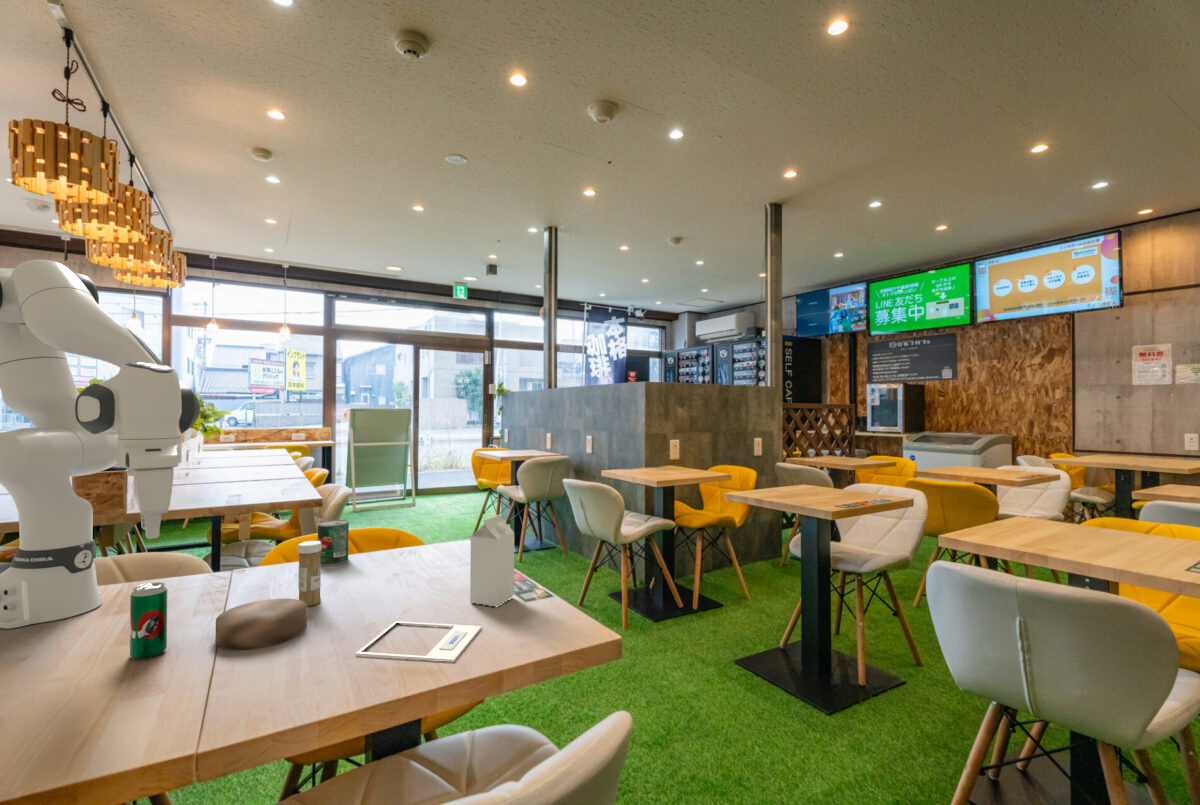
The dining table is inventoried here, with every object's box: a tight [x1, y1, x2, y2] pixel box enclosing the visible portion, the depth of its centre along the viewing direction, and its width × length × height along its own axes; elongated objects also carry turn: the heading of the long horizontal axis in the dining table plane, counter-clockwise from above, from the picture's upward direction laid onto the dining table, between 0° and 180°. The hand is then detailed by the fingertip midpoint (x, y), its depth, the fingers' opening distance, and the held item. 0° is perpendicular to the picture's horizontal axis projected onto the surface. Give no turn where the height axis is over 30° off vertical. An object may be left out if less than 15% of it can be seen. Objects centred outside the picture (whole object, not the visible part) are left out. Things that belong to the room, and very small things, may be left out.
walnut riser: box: [215, 598, 308, 651], centre depth 107 cm, size 15×15×4 cm
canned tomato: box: [317, 519, 350, 566], centre depth 156 cm, size 8×8×11 cm
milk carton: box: [469, 513, 515, 607], centre depth 126 cm, size 7×7×19 cm
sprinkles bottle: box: [297, 540, 322, 607], centre depth 123 cm, size 5×5×14 cm
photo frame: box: [355, 620, 483, 661], centre depth 104 cm, size 15×1×18 cm
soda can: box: [129, 582, 168, 660], centre depth 98 cm, size 5×5×12 cm
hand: (150, 533), depth 98 cm, fingers open, 8 cm apart
